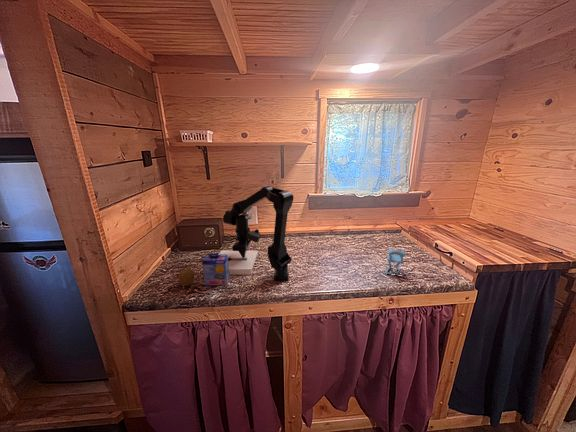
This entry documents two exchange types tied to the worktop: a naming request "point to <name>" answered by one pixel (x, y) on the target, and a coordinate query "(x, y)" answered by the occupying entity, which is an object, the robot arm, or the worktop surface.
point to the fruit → (186, 277)
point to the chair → (395, 259)
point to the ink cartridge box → (215, 269)
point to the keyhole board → (240, 262)
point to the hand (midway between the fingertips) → (244, 256)
